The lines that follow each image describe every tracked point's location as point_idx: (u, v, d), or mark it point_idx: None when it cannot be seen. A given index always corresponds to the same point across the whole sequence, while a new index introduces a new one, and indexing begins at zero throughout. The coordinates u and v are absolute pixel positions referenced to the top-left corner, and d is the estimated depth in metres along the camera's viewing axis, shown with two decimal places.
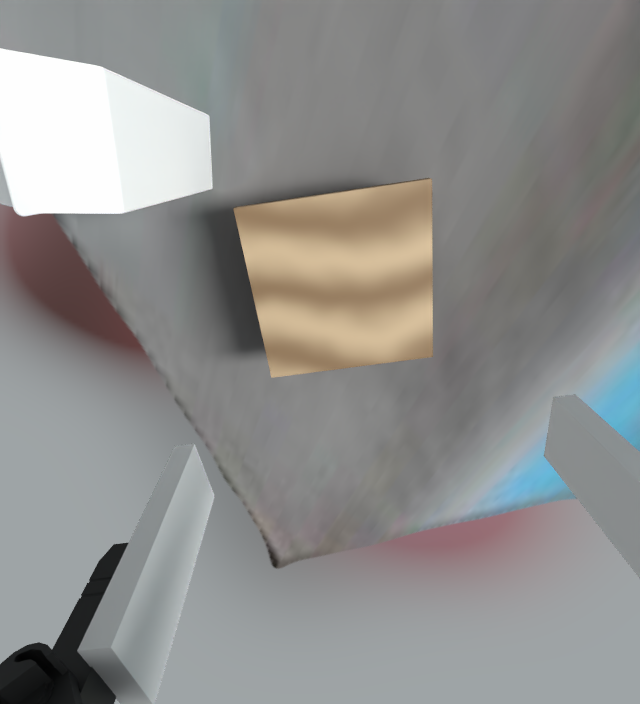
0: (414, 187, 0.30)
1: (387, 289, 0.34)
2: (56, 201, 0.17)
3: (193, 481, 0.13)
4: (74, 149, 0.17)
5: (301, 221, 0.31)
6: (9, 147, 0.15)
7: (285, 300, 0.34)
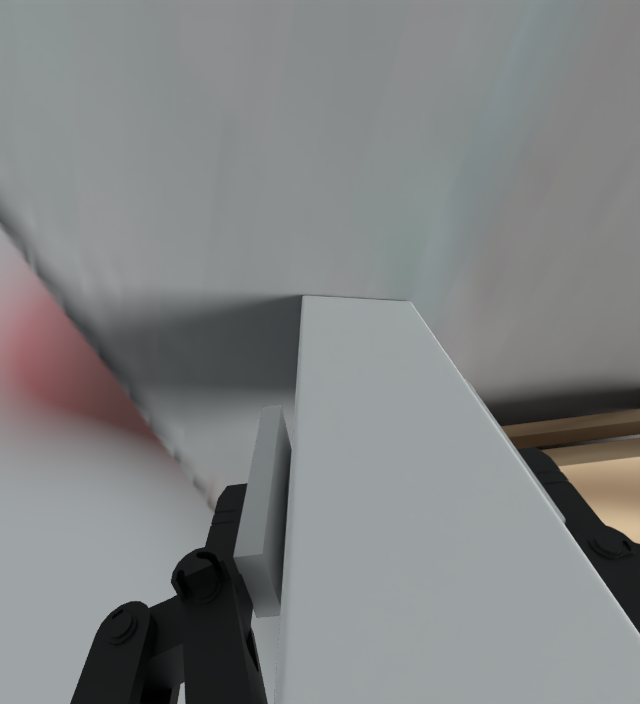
0: None
1: None
2: None
3: (283, 437, 0.15)
4: None
5: (579, 489, 0.19)
6: None
7: None
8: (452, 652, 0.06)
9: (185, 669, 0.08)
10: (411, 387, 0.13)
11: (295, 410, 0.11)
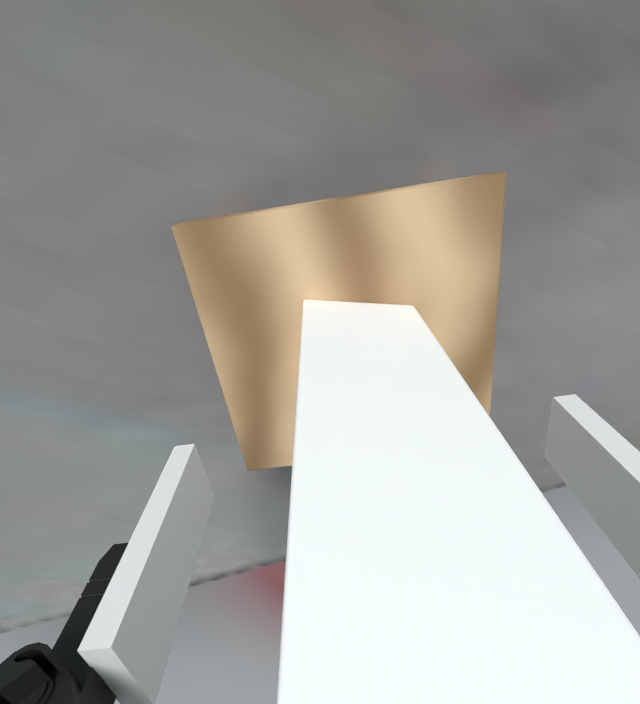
0: (188, 253, 0.19)
1: (355, 280, 0.20)
2: None
3: (193, 481, 0.13)
4: None
5: (255, 403, 0.23)
6: None
7: None
8: (463, 693, 0.05)
9: None
10: (414, 397, 0.12)
11: (296, 422, 0.11)
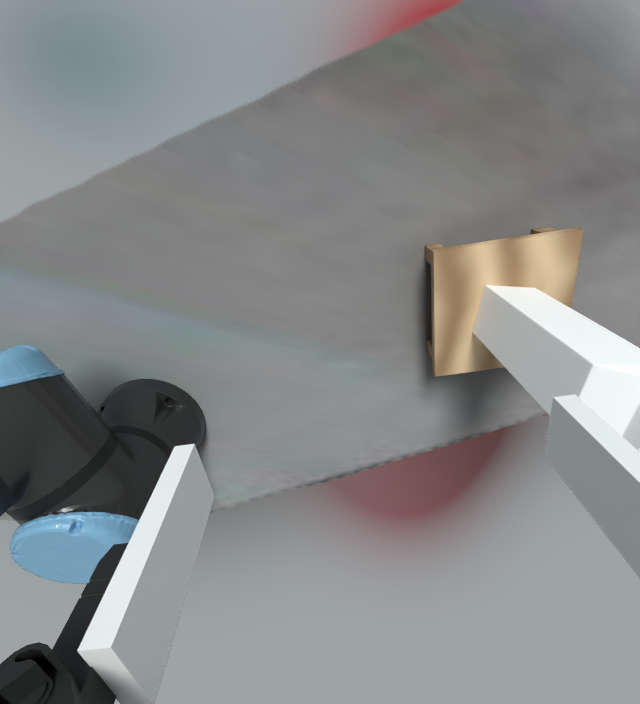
0: (437, 263, 0.42)
1: (510, 276, 0.43)
2: None
3: (193, 481, 0.13)
4: None
5: (449, 337, 0.46)
6: None
7: None
8: (609, 352, 0.29)
9: None
10: (564, 315, 0.35)
11: (532, 319, 0.34)
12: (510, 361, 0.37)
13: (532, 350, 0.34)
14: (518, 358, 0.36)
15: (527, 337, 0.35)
